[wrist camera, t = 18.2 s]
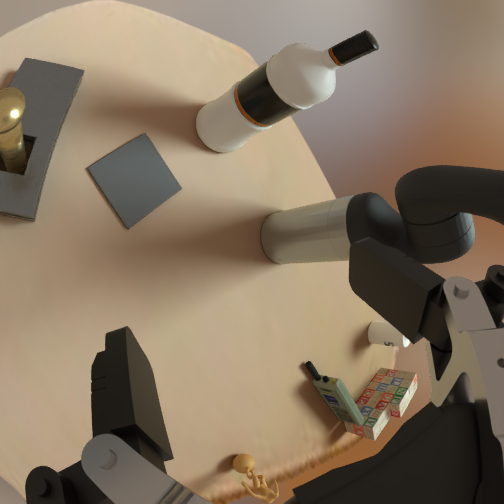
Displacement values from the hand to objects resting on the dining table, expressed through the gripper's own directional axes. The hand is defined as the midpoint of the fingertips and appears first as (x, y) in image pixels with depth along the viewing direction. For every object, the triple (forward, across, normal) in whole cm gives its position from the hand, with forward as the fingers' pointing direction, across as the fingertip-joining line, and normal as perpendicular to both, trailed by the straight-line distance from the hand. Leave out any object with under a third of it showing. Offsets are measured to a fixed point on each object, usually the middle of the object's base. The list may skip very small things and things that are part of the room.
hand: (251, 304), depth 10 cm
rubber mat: (+34, +4, +1) cm, 34 cm away
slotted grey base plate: (+32, +17, -11) cm, 38 cm away
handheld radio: (+23, -18, +53) cm, 61 cm away
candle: (+32, -39, +54) cm, 74 cm away
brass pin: (+30, +19, -8) cm, 37 cm away
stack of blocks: (+23, -32, +69) cm, 79 cm away
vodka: (+42, -11, -2) cm, 43 cm away
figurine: (+14, +6, +48) cm, 50 cm away
